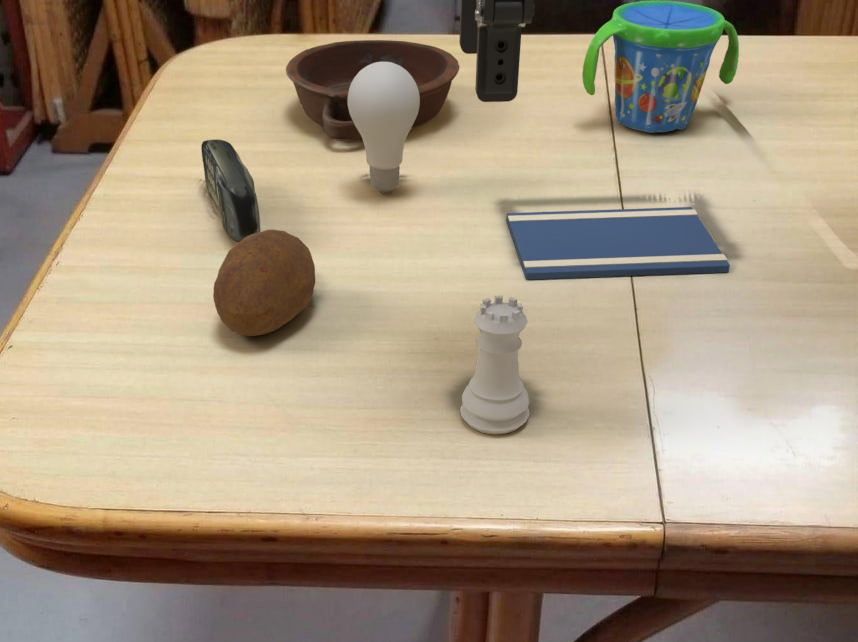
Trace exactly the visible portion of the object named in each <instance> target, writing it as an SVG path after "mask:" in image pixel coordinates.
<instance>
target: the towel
mask: <svg viewBox="0 0 858 642" xmlns="http://www.w3.org/2000/svg"><path fill="white" fill-rule="evenodd" d="M505 219H506V222H507V223H506V224H507V225H508V229H509V232H510V235H511V238H512V240H513V244H514V246H515V250H516V253H517V255H518V258H519V262H520V264H521V268H522V271H523V274H524V276H525V279H526V280H528V281H529V280H555V279H581V278H582V279H583V278H606V277H609V278H610V277H633V276H634V277H635V276H637V277H638V276H662V275H663V276H664V275H688V274H689V275H690V274H718V273H729V272H730V266H731V265H730V263H729V262H728V258H727V257H726V255H725V254H724V253H723V252H722V251H721V249H720V248H719V247H718V245H717V243H716V241H714V239H713V237H712V236H711V234H710V233H709V230H707V228H706V227H705V225H704V224H703V222H702V220H701V219H700V217H699V214H698V212H697V211H696V209H694V207H692V206H680V207H679V206H678V207H677V206H676V207H649V208H646V207H645V208H621V209H620V208H618V209H590V210H589V209H588V210H587V209H586V210H561V211H558V210H557V211H531V212H529V211H528V212H507V213H506V215H505Z"/></svg>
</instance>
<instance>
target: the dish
mask: <svg viewBox="0 0 858 642" xmlns="http://www.w3.org/2000/svg"><path fill="white" fill-rule="evenodd" d="M376 62H391V63H394V64H397V65H399V66H401V67H402V68H404V69H405V70H406V71H408V73H409V74H410V75H411V76H412V78H413V79H414V81H415V83H416V85H417V88H418V90H419V96H420V106H419V111H418V115H417V117H416V119H415V121H414V123H413V125H412V127H411V129H414V128H417V127H419V126H422V125H424V124H426V123H428V122H429V121H431V120H433V119H435V117H436V116H438V114H439V113H440V112H441V110H442V108H443V107H444V104H445V102H446V100H447V98H448V95H449V94H450V93H449V92H450V89H451V86H452V82H453V80H454V79H455V78H456V77H457V75H458V73H459V71H460V64H459V61H458V59H457V58H456V57H455V56H454V55H453V54H452V53H450V52H448V51H446V50H445V49H442V48H440V47H437V46H433V45H429V44H424V43H420V42H419V43H418V42H414V41H413V42H412V41H405V40H392V39H391V40H390V39H389V40H388V39H369V40H368V39H362V40H344V41H334V42H331V43H326V44H321V45H317V46H313V47H311V48H307V49H304V50H303V51H301V52H299V53H298V54H296V55H295V56H294V57H292V58H291V59H290V60H289V61H288V63H287V65H286V66H285V73H286V76H287V77H288V79H289V80H290V81H291V82H292V83H293V86H294V88H295V92H296V94H297V95H296V96H297V99H298V101H299V103H300V106H301V108H302V110H303V111H304V113H305V114H306V116H307V117H308V118H310V120H312V121H313V122H315V123H317V124H318V125H320V126H321V127H323V130H324V131H325V134H326V136H328V137H329V138H331V139H332V140H336V141H337V140H338V141H350V140H357V139H360V138H362V137H361V135H360V133H359V131H358V129H357V128H356V126H355V124H354V122H353V120H352V118H351V116H350V113H349V109H348V100H347V99H348V92H349V88H350V85H351V83H352V81H353V79H354V78H355V76H356V75H357V74H358V73H359V71H361V70H362V69H363V68H365V67H366V66H368V65H370V64H373V63H376ZM411 129H410V130H411Z"/></svg>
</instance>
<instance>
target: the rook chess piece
mask: <svg viewBox="0 0 858 642" xmlns="http://www.w3.org/2000/svg"><path fill="white" fill-rule="evenodd" d="M503 300H504V295H494V302H491V301H492V298H490V297H486V298H485V299H483V300H482V303H480V304H479V310H478V311H477V312H476V313H475V314H474V317H473V323H474V325H475V326H476V328H477V329H478V331H479V332H480V333H479V335H478V336H477V338H476V340H475V342H476V346H477V347H478V357H477V361H476V367H475V371H474V374H473V376H472V377H471V379H470V380H469V382H468V384H467V385H466V387H465V389H464V390H463V393H462V395H461V402H462V403H461V406H460V408H459V410H460V416H461V418H462V419H463V420H464V421H465V422H466V424H467V425H468V426H469V427H470V428H471V429H473V430H475V431H477V432H479V433H483V434H488V435H505V434H508V433H512V432H515V431H516V430H518V429H519V428H520V427H522V426H523V425H524V424H525V423H526V422H527V421H528V419H529V417H530V414H531V413H530V409H529V405H530V402H531V401H530V397H529V394H528V390H527V389H526V387H525V384H524V381H523V380H522V379H521V378H520V365H519V350H520V349H521V348H522V345H523V340H522V338H521V337H520V333H521V332H522V331H524V329H525V328H526V327H527V325H528V324H529V323H528V322H529V320H528V318H527V315H526V314H525V313H524V311H523V309H524V307H523V303H522V302H518V298H515V297H512V296H509V298H508V302H503Z"/></svg>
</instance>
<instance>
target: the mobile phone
mask: <svg viewBox="0 0 858 642" xmlns="http://www.w3.org/2000/svg"><path fill="white" fill-rule="evenodd" d="M200 146H201V158H202V164H203V165H202V166H203V172H204V180H205V187H206V190H207V192H208V193H209V194H210V196H211V198H212V200H213V202H214V204H215V207H216V208H217V210H218V212H219V214H220V217H221V222H222V227H223V229H224V231H225V232H226V234H227V235H228V236H229V237H230V238H232V239H234V240H235V241H236V242H238V243H239V242H240V241H241V240H243V239H244V238H245V237H247V236H249V235H251V234H254V233H258V232H261V219H260V208H259V203H258V195H257V194H256V187H255V181H254V179H253V177H252V175H251V173H250V171H249V169H248V168H247V166H246V165H245V164H244V163H243V161H242V159H241V157H240V155H239V153H238V152H237V151H236V149H235V147H234V146H233V145H232V144H231V143H230V142H228V141H227V140H223V139H206V140H204V141H202V143H201V145H200Z"/></svg>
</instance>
